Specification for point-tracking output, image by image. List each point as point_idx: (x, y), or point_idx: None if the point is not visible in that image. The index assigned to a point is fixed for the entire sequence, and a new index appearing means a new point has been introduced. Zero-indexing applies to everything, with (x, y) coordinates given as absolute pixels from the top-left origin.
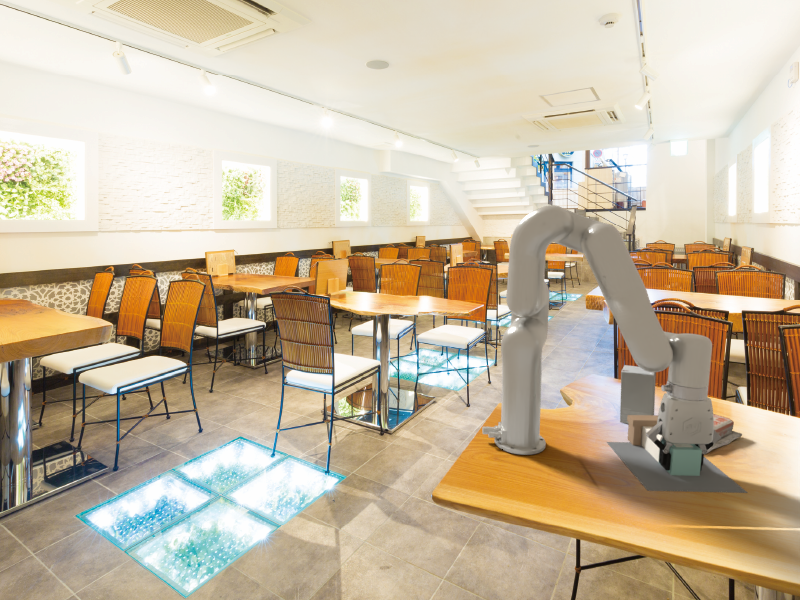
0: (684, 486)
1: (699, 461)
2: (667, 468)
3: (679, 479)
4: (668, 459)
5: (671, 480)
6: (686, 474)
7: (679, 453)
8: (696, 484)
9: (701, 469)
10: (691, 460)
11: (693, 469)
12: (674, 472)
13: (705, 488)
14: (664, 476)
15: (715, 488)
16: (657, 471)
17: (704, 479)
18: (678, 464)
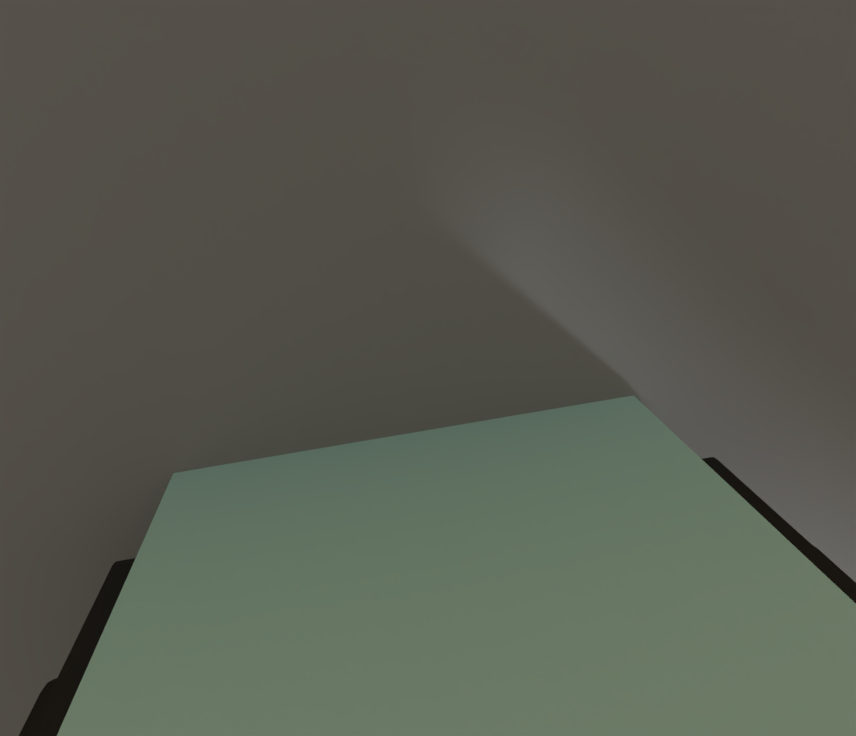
0: (578, 33)
1: (136, 629)
2: (721, 469)
3: (560, 277)
4: (816, 566)
5: (711, 212)
6: (393, 442)
7: (707, 672)
8: (335, 150)
9: (109, 574)
10: (329, 610)
11: (275, 509)
12: (603, 421)
13: (220, 24)
14: (764, 327)
15: (28, 63)
16: (797, 466)
17: (130, 363)
18: (594, 503)
